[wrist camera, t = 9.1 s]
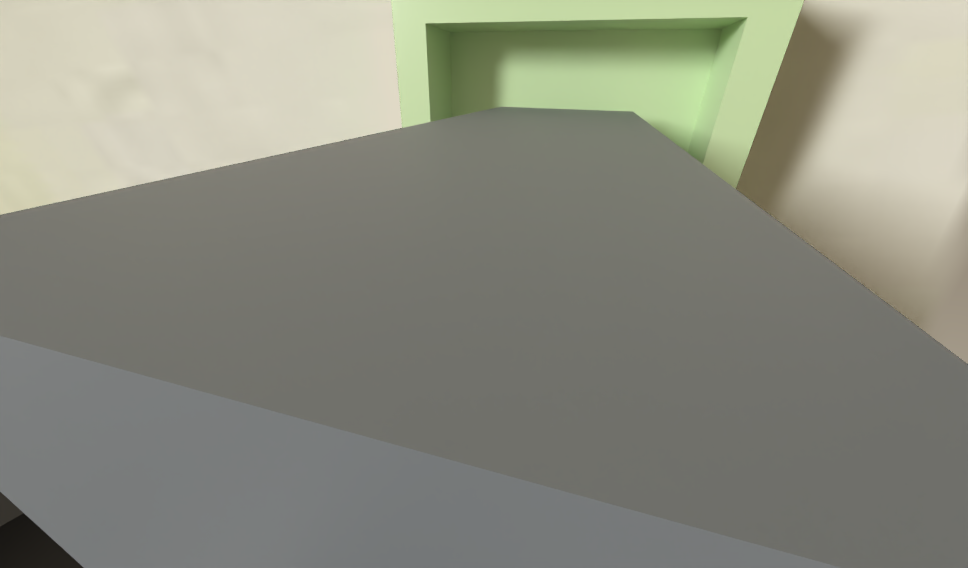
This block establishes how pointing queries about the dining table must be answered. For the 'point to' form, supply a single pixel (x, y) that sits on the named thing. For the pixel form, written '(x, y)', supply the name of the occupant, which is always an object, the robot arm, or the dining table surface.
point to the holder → (601, 63)
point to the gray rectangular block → (467, 367)
